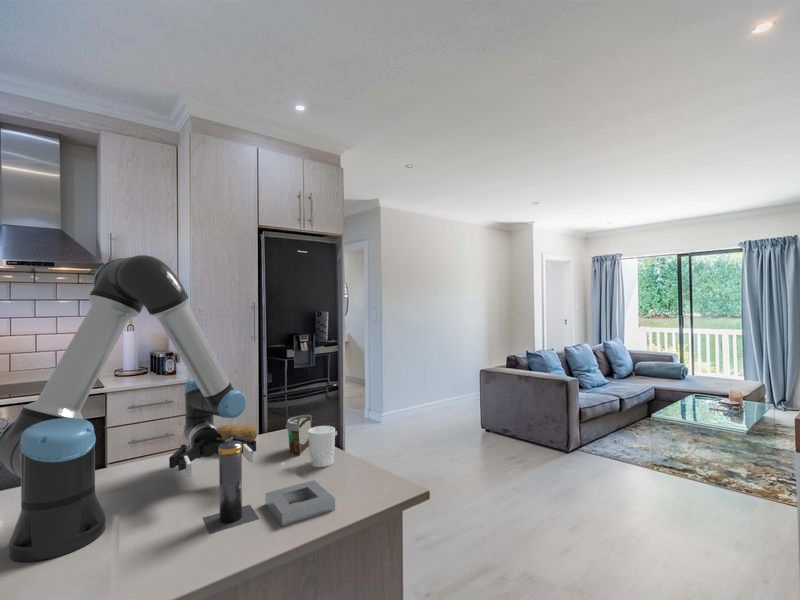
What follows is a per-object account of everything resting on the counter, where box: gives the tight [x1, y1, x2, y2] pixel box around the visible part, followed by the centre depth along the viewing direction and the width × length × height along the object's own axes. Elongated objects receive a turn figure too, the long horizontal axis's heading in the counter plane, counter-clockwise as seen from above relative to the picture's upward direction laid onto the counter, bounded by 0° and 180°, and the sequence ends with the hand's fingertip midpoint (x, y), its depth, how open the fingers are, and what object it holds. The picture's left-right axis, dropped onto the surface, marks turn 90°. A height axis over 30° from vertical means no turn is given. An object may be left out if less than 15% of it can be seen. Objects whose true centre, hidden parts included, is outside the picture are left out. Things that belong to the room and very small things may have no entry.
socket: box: [264, 479, 336, 527], centre depth 94 cm, size 12×12×4 cm
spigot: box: [218, 441, 243, 524], centre depth 90 cm, size 5×5×16 cm
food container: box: [285, 414, 313, 456], centre depth 135 cm, size 12×6×10 cm, turn 172°
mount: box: [202, 504, 260, 535], centre depth 90 cm, size 10×8×1 cm
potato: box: [215, 424, 259, 441], centre depth 137 cm, size 10×14×8 cm
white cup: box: [308, 425, 336, 468], centre depth 123 cm, size 8×8×10 cm
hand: (221, 463), depth 98 cm, fingers open, 13 cm apart
